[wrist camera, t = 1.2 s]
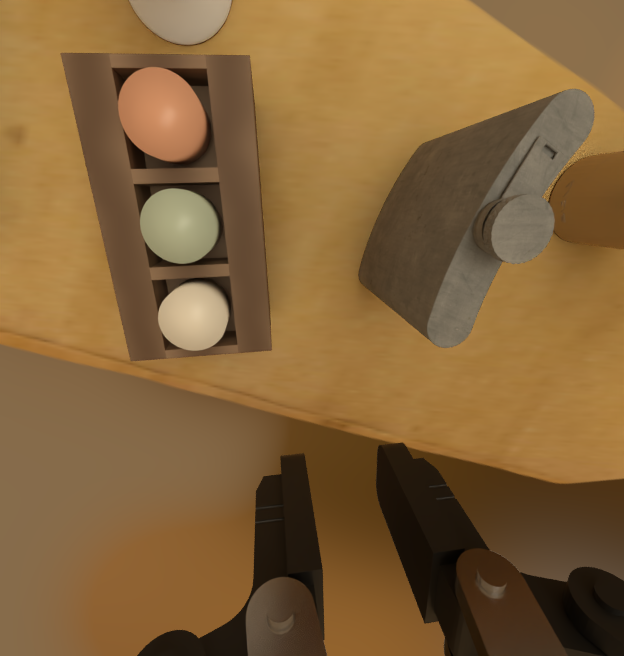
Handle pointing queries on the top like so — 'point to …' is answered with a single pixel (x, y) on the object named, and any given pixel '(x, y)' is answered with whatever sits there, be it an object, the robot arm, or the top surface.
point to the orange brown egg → (164, 116)
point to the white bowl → (183, 18)
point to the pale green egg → (180, 225)
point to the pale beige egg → (195, 314)
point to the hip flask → (471, 213)
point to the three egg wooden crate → (156, 175)
